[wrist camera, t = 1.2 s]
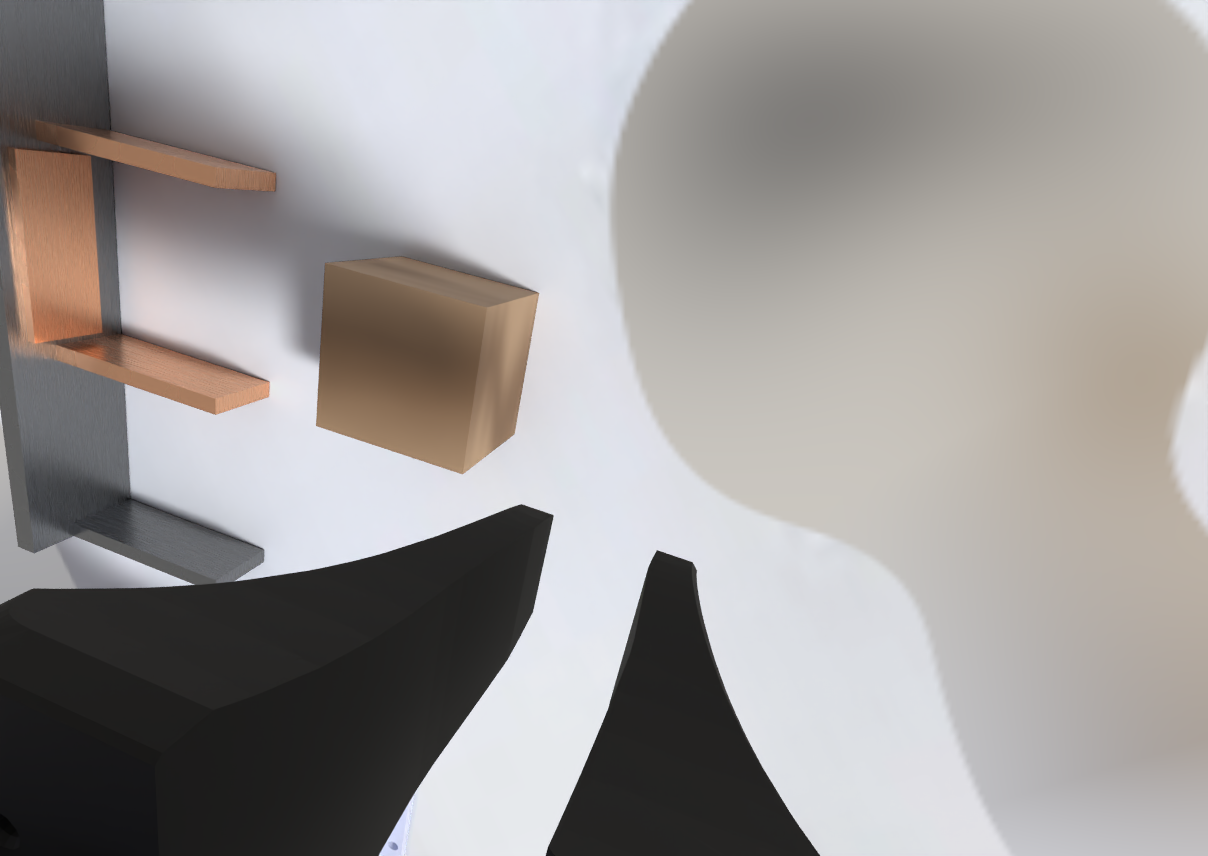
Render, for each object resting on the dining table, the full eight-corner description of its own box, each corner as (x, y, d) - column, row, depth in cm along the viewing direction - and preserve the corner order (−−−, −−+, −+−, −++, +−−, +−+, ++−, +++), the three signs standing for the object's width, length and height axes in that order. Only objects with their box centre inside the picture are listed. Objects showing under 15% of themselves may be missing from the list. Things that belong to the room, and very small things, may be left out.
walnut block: (515, 433, 22) (462, 474, 19) (390, 394, 23) (315, 425, 20) (540, 292, 21) (487, 307, 17) (403, 255, 22) (325, 262, 18)
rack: (263, 561, 27) (182, 614, 24) (116, 505, 29) (18, 546, 25) (284, -96, 19) (164, -172, 15) (76, -131, 20) (-80, -208, 17)
